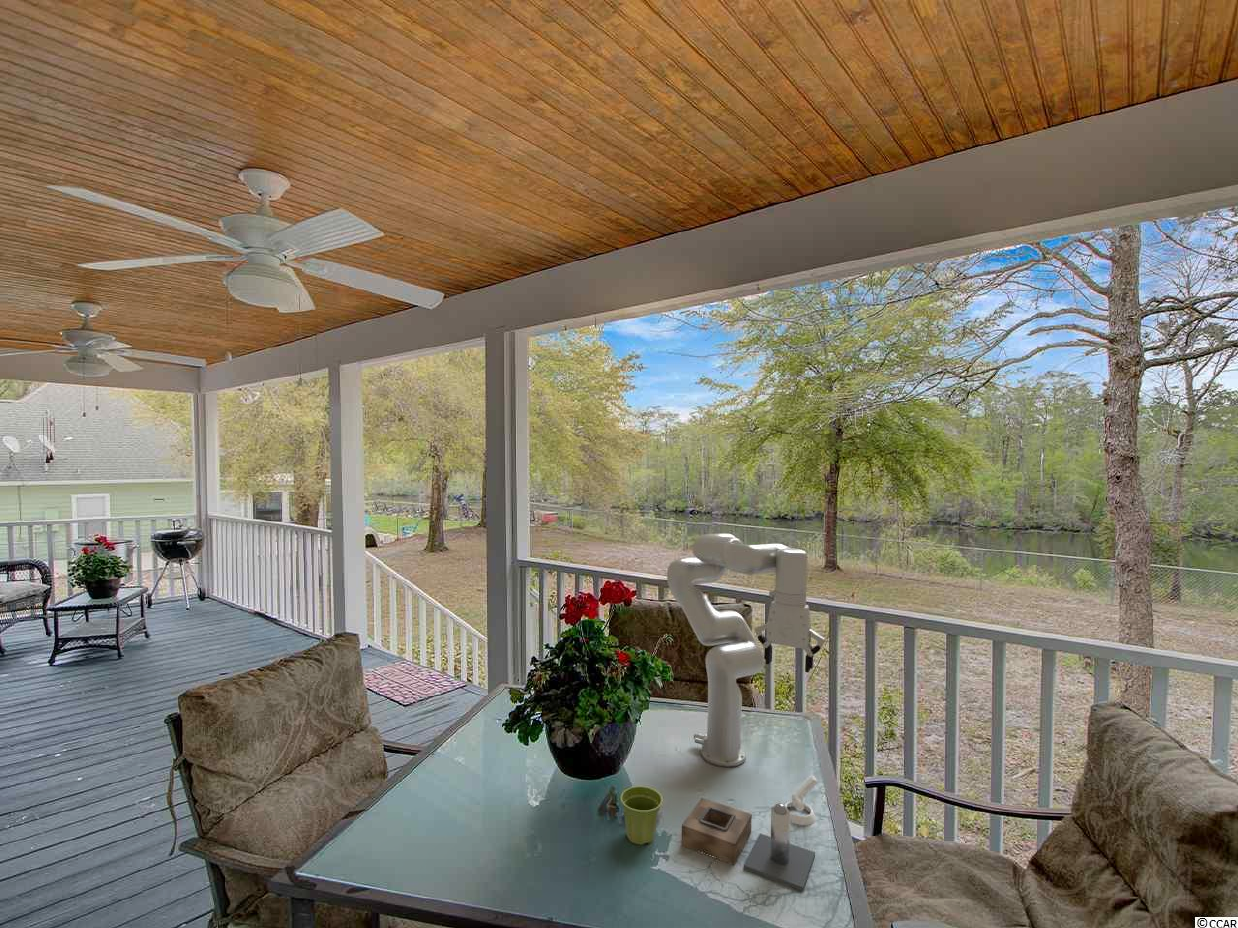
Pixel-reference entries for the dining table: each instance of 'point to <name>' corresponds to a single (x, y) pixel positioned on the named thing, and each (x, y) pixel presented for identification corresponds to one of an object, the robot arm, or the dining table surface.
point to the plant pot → (641, 813)
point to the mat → (783, 873)
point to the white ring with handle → (799, 804)
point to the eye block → (716, 830)
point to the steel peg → (780, 834)
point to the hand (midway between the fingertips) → (788, 666)
